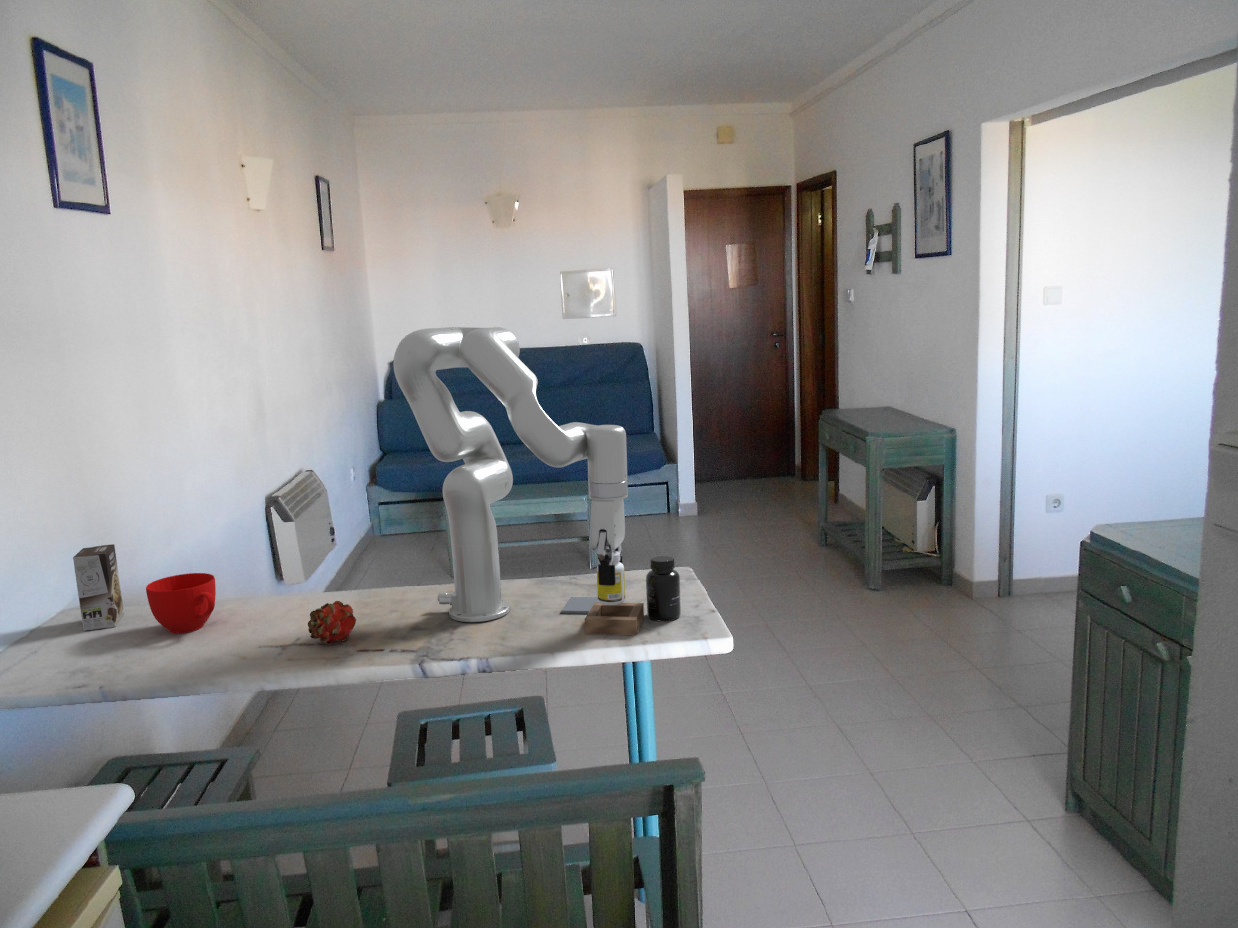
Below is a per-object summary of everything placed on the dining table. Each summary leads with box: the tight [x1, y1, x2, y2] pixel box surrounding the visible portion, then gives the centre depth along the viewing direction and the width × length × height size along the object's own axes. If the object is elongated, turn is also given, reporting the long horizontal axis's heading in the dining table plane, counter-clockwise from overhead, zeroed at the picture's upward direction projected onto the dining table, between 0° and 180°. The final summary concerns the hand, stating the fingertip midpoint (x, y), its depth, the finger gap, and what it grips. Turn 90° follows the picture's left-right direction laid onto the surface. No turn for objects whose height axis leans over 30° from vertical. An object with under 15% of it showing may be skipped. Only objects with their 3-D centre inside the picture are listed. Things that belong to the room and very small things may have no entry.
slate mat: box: [560, 596, 599, 615], centre depth 192 cm, size 9×9×1 cm
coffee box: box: [72, 543, 125, 632], centre depth 194 cm, size 9×6×16 cm
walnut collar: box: [584, 602, 645, 636], centre depth 179 cm, size 10×10×3 cm
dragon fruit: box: [307, 600, 357, 646], centre depth 178 cm, size 8×8×12 cm
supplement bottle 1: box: [596, 551, 626, 605], centre depth 178 cm, size 5×5×10 cm
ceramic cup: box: [145, 572, 217, 634], centre depth 188 cm, size 13×17×10 cm
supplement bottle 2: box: [645, 555, 682, 622], centre depth 183 cm, size 7×7×12 cm
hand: (610, 579), depth 178 cm, fingers closed on supplement bottle 1, 5 cm apart
